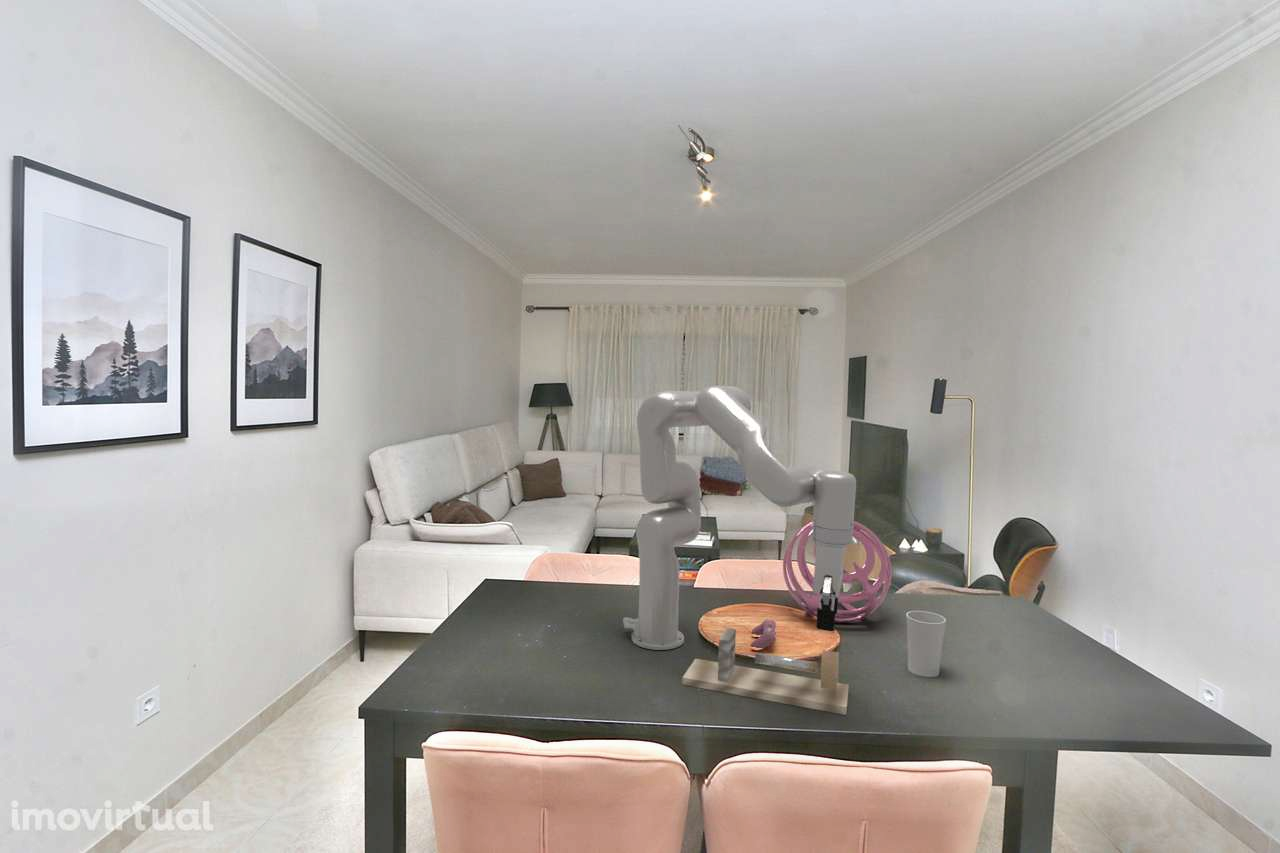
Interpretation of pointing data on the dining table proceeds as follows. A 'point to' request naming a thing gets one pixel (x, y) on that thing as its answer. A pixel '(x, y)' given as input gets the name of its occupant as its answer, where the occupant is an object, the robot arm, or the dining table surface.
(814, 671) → the peg
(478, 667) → the dining table surface
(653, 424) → the robot arm
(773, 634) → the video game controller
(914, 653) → the cup
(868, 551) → the spiral basket
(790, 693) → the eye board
